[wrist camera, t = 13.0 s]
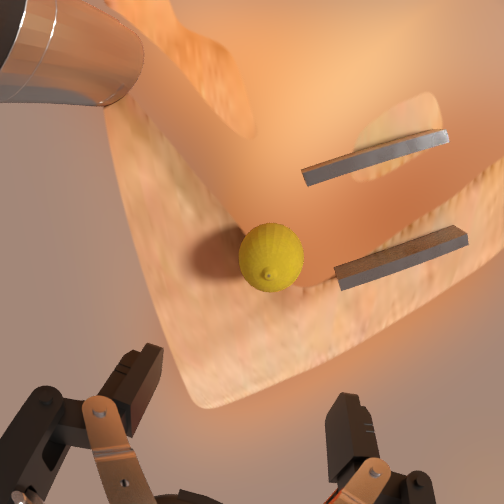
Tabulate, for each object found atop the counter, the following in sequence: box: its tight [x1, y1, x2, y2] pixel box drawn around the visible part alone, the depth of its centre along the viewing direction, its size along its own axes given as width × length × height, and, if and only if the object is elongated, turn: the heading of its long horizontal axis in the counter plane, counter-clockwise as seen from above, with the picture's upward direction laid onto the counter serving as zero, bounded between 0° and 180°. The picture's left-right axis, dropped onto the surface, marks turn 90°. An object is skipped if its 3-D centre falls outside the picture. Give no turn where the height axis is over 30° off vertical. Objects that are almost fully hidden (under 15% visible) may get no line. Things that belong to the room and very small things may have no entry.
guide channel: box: [301, 129, 468, 291], centre depth 27 cm, size 11×14×3 cm
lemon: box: [239, 223, 304, 292], centre depth 27 cm, size 6×6×8 cm
